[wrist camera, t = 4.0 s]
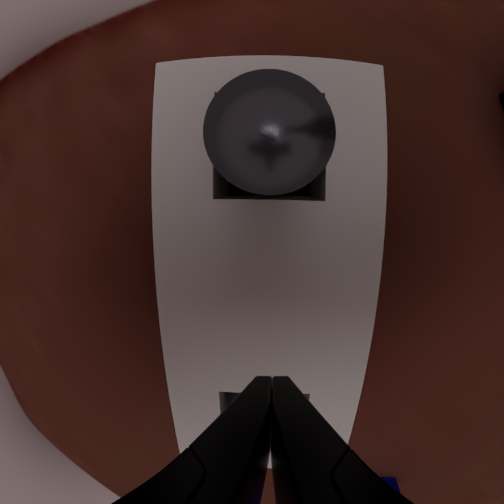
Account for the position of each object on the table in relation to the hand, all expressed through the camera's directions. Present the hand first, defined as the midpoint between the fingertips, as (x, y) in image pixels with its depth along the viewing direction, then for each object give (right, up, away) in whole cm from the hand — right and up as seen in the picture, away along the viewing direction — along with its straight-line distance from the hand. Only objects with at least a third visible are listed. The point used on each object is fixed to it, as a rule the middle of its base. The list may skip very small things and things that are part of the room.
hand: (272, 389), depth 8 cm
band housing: (0, +2, +11) cm, 11 cm away
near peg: (0, +8, +6) cm, 10 cm away
